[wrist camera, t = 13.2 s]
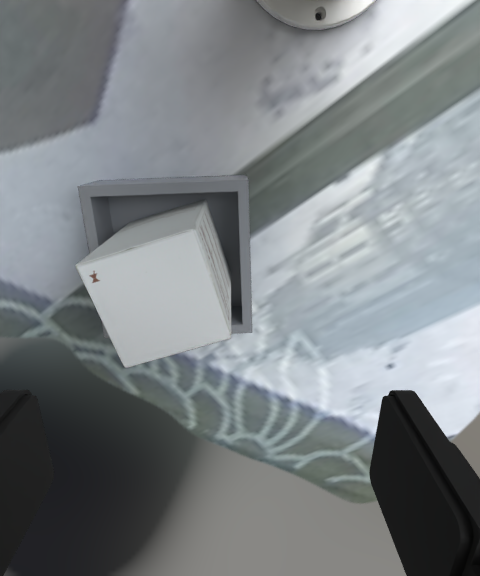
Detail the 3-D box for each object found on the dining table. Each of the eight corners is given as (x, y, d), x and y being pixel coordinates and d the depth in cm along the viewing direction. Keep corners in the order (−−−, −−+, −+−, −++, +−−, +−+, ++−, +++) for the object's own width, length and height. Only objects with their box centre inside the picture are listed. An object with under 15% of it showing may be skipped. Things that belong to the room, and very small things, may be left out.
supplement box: (157, 297, 36) (120, 372, 24) (127, 221, 33) (69, 262, 21) (233, 275, 35) (233, 342, 23) (208, 196, 33) (195, 225, 21)
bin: (99, 180, 33) (77, 186, 28) (246, 174, 33) (248, 179, 28) (120, 314, 37) (104, 338, 33) (249, 309, 38) (252, 332, 33)
